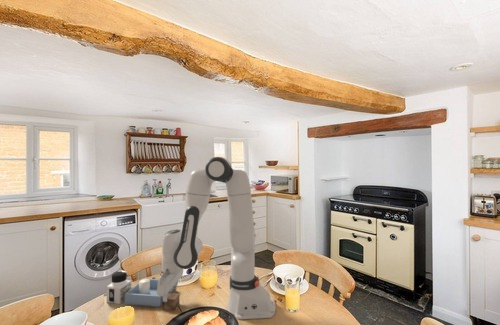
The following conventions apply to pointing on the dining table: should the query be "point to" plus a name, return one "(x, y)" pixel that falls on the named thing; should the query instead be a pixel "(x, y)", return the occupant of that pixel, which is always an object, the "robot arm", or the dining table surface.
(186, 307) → the dining table surface
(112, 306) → the dining table surface
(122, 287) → the container
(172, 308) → the walnut cube
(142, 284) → the cream cylinder
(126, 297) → the tote
